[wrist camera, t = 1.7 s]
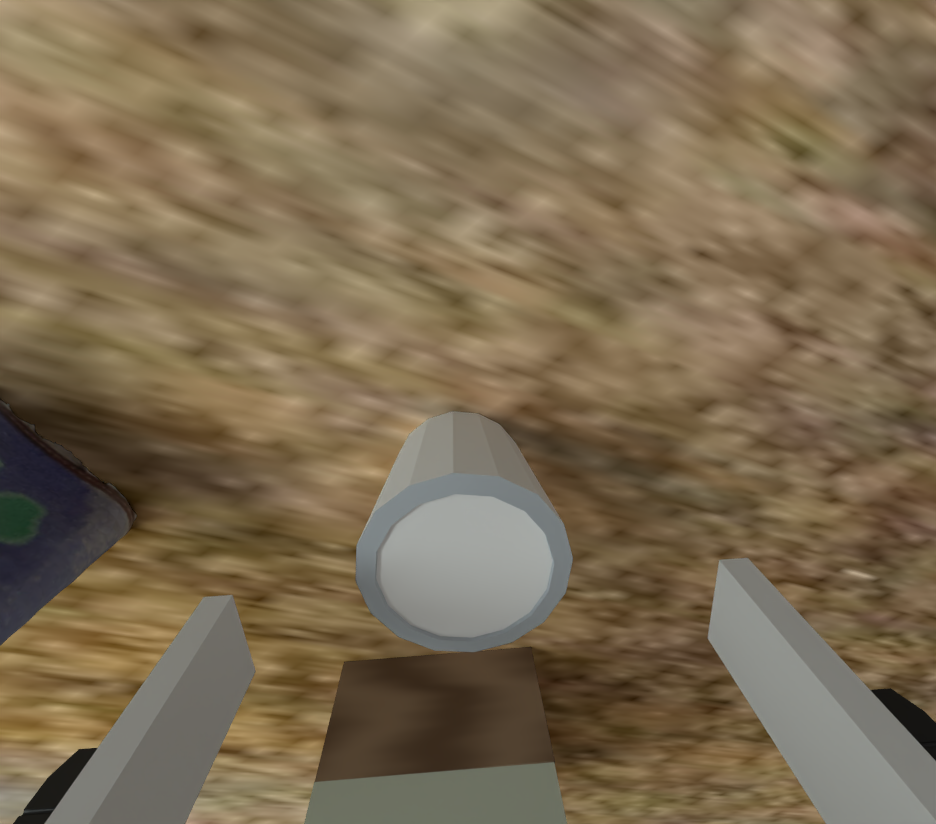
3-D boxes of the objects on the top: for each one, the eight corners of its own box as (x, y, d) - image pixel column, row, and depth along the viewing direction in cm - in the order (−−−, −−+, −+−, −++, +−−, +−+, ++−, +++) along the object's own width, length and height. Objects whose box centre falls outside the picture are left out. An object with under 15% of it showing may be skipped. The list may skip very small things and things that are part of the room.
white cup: (492, 369, 19) (515, 434, 13) (558, 494, 22) (606, 605, 15) (353, 442, 20) (308, 537, 14) (430, 555, 23) (423, 683, 16)
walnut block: (369, 782, 28) (350, 916, 23) (344, 659, 25) (314, 781, 19) (532, 768, 28) (553, 897, 23) (530, 644, 25) (554, 760, 19)
